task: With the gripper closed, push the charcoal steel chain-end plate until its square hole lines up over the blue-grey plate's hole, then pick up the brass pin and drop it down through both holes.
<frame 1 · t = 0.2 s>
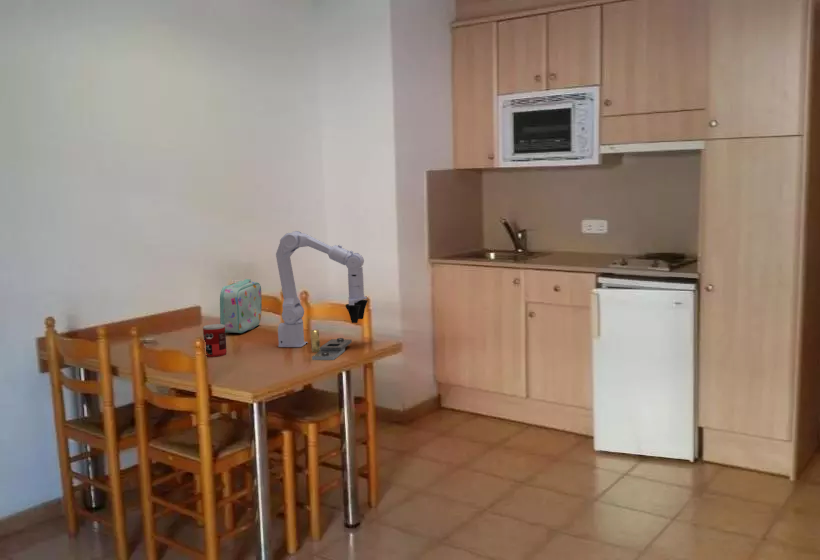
hand: (357, 320, 310), 9 cm above the table, fingers open, 7 cm apart
tow hook: (289, 332, 343), on the table
brass pin: (315, 351, 303), on the table
chain end upper: (336, 344, 304), point 2 cm above the table, slide at 3.0 cm
chain end lower: (331, 353, 299), on the table
lunch box: (242, 330, 352), on the table
canned food: (216, 355, 304), on the table
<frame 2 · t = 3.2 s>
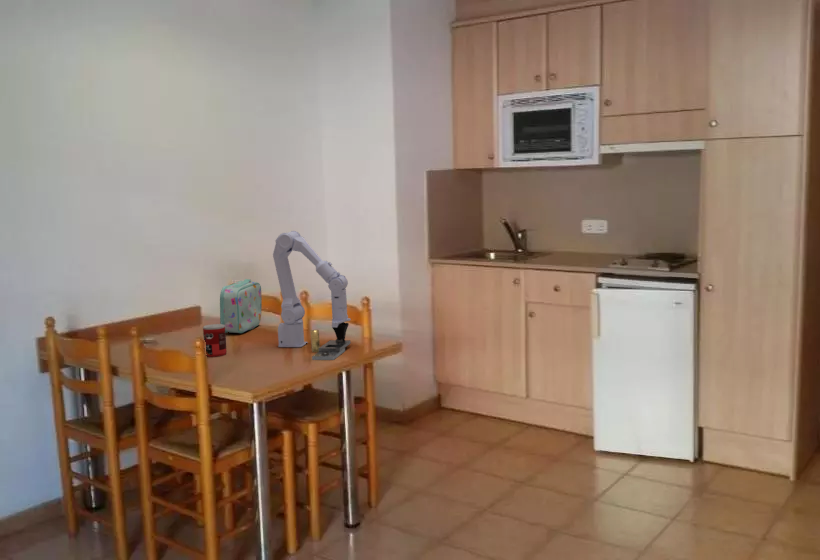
hand: (341, 342, 310), 1 cm above the table, fingers closed
chain end upper: (334, 344, 303), point 2 cm above the table, slide at 1.4 cm, touching gripper
everything else where it was.
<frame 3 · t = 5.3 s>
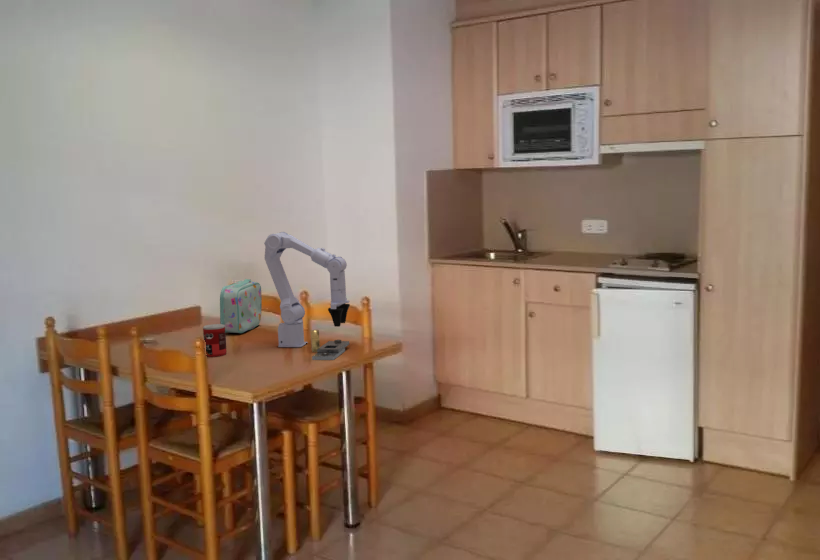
hand: (339, 324, 309), 8 cm above the table, fingers open, 6 cm apart
chain end upper: (333, 345, 301), point 2 cm above the table, slide at 0.0 cm
everything else where it was.
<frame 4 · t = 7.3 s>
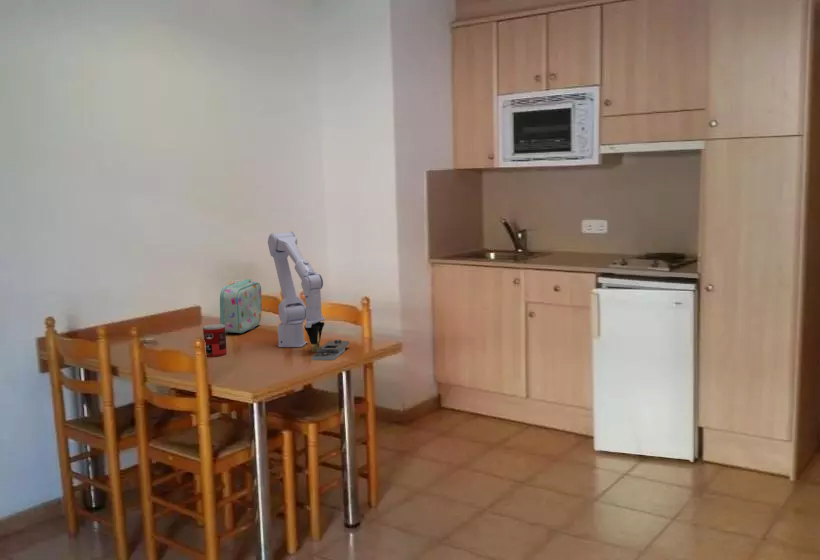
hand: (315, 343, 302), 3 cm above the table, fingers closed on brass pin, 3 cm apart
brass pin: (315, 351, 303), on the table, touching gripper
everything else where it was.
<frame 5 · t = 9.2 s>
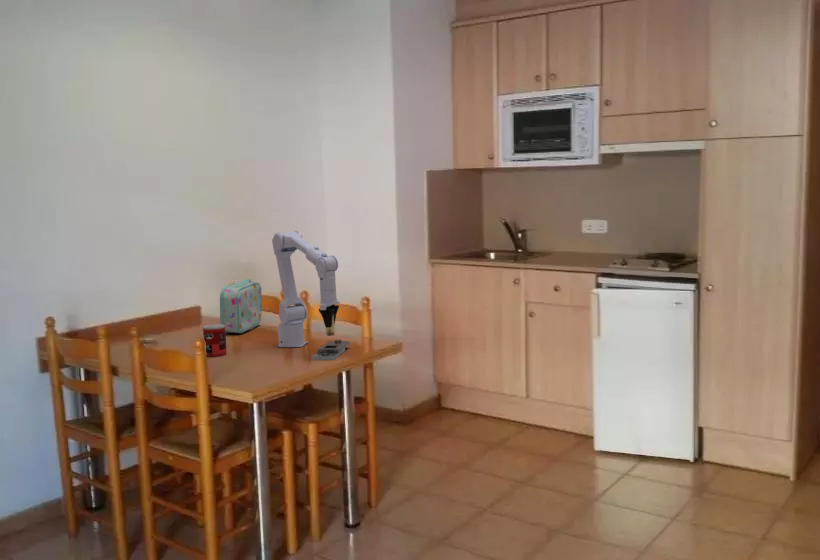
hand: (330, 326, 297), 10 cm above the table, fingers closed on brass pin, 3 cm apart
brass pin: (330, 334, 298), point 7 cm above the table, touching gripper
everything else where it was.
when the fingers open (4 cm above the table, at t = 10.9 s): brass pin stays where it is, resting in chain end lower.
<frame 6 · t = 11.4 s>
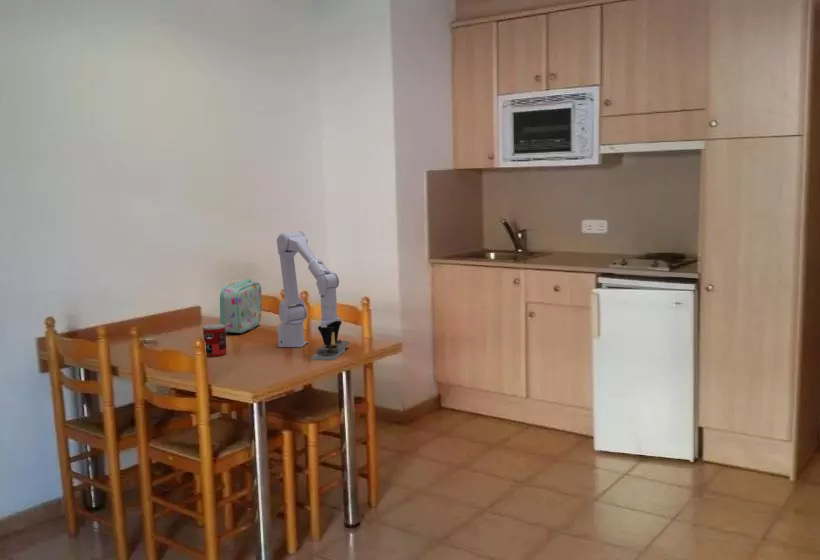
hand: (330, 343, 298), 4 cm above the table, fingers open, 7 cm apart
brass pin: (331, 353, 298), resting in chain end lower
everything else where it was.
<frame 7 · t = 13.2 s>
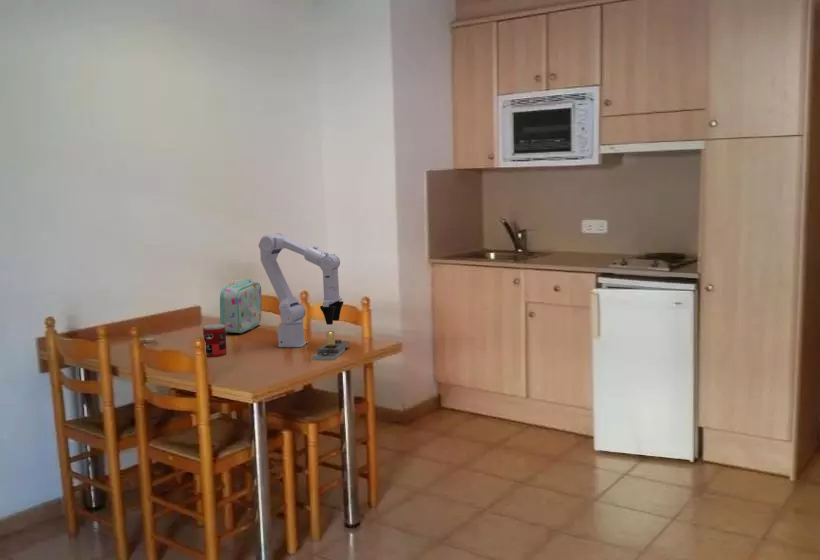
hand: (332, 322, 308), 10 cm above the table, fingers open, 7 cm apart
nothing on the table moved.
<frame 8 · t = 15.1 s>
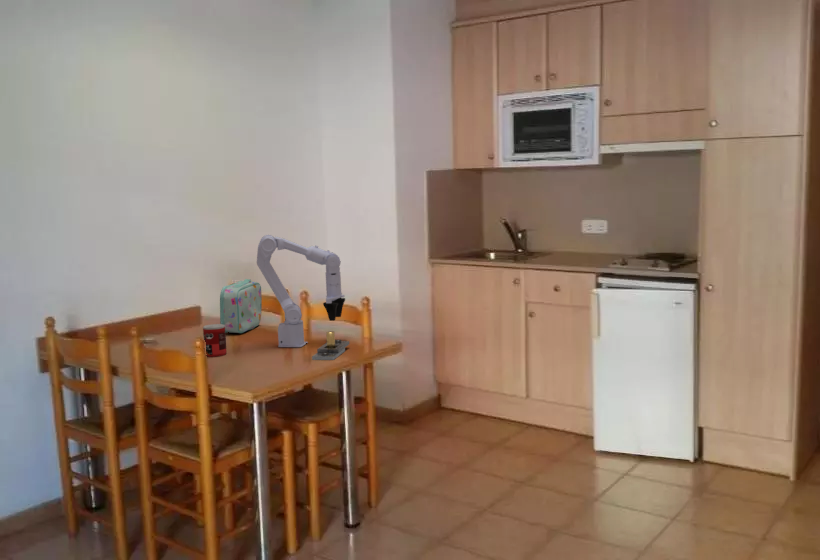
hand: (335, 318, 316), 9 cm above the table, fingers open, 7 cm apart
nothing on the table moved.
at the end: chain end upper slide at 0.0 cm; brass pin 0.0 cm off-centre on the chain end lower, point 0.0 cm above the chain end lower's base; brass pin tilted 0° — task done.
